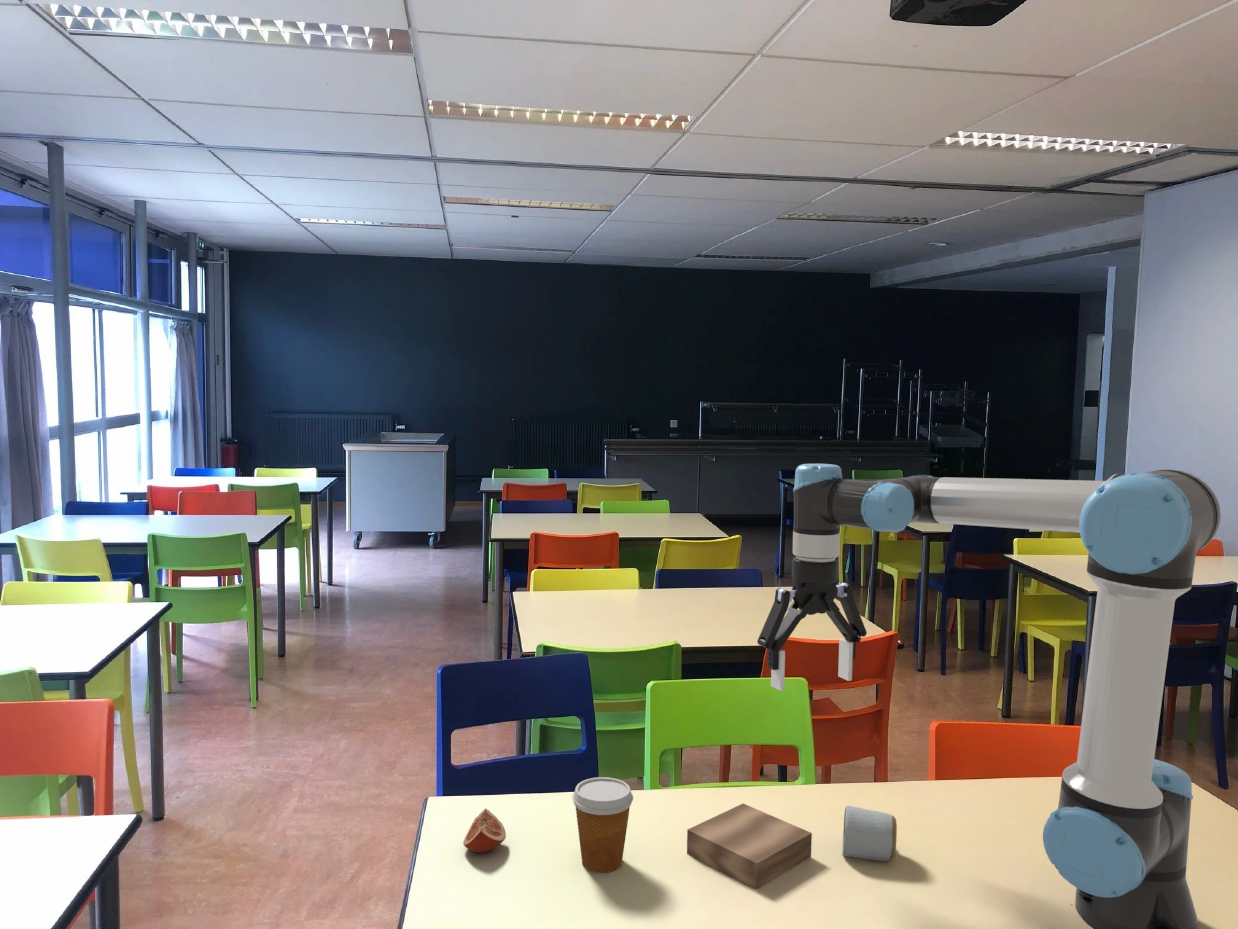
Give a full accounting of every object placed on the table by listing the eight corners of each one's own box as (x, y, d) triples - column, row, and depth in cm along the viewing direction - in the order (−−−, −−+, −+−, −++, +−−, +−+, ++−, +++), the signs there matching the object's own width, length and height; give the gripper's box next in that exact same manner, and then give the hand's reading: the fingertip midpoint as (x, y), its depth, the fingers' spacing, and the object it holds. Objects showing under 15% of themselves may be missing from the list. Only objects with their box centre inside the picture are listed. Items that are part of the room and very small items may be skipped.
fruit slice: (467, 836, 153) (467, 807, 153) (508, 835, 153) (508, 806, 153) (460, 861, 145) (460, 831, 144) (503, 861, 145) (503, 831, 145)
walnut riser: (811, 857, 147) (811, 833, 147) (756, 889, 138) (756, 863, 138) (742, 826, 158) (743, 803, 157) (686, 853, 148) (687, 829, 148)
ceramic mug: (896, 871, 144) (898, 823, 143) (842, 864, 145) (844, 817, 145) (891, 840, 154) (893, 795, 153) (841, 834, 156) (842, 790, 155)
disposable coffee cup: (579, 882, 139) (580, 805, 138) (565, 851, 148) (566, 779, 147) (639, 874, 142) (641, 798, 141) (623, 844, 151) (624, 773, 150)
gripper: (861, 549, 161) (857, 668, 163) (738, 558, 151) (735, 685, 152) (890, 556, 154) (886, 680, 156) (763, 566, 144) (760, 699, 146)
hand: (811, 683), depth 154 cm, fingers open, 13 cm apart
